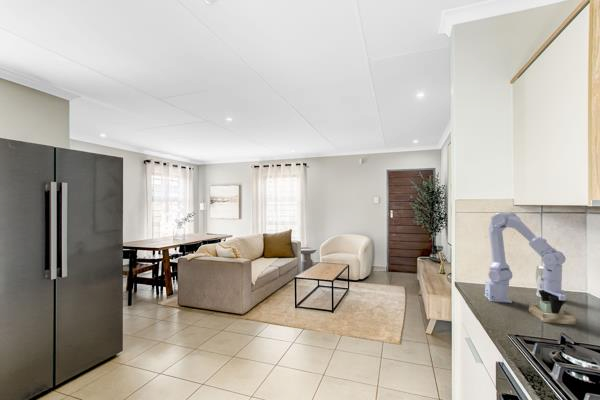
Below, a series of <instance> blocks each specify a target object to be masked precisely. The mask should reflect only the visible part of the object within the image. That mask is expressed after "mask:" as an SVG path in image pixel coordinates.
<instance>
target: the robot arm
mask: <svg viewBox="0 0 600 400" xmlns="http://www.w3.org/2000/svg"><path fill="white" fill-rule="evenodd" d="M490 219H491V220H490V224H489V226H488V232H489V233H488V234H489V241H490V250H491V260H492V263H491V265H490V266H489V270H488V278H489V280H487V281H485V285H484V286H485V287H484V296H485V297H486V298H487V299H488V300H489V301H490V302H497V303H508V304H509V303H511V304H512V303H513V301H512V300H511V299H509V298H510V297H509V292H510V280H511V279H512V278H513V272H512V270H511V269H510V265H509V264H508V263H507V260H506V259H507V258H506V253H505V246H504V244H505V243H504V236H503V231H504V230H505V229H507V228H510V229H515V230H516V231H517V232H518V233H519V234H520V235H521V236H523V238H525V239H526V240H527V241H528V245H529V247H530V248H532V250H534V251H535V252H536V253H537V255H539V256H540V257H541V261H542V263H543V264H544V265H543V266H545V267H544V284H540V288H541V289H543V290H539V293H540V295H541V297H540V298H541V301H550V303H551V310H552V313H557V314H559V311H560V309H561V307H562V306H563V305H564V304H565V303H566V302H567V296H566V295H565V294H564V293H565V290H563V289H562V283H563V281H562V280H563V278H562V277H563V264H564V263H565V262H566V256H565V254H564V253H563V252H562V251H558V250H557V249H556V248H555V247H552V246H551V245H550V244H549V243H548V242H547V239H546V238H543V237H539V236H536V235H535V234H534V233H533V231H532V230H530V228H529V227H527V225H526V224H525V223H524V222H523V221H522V220H521V218H520V217H519V215H517V214H516V213H514V212H512V211H507V212H496V213H494V214H493V215H492V216H491V218H490Z"/></svg>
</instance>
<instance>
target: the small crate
mask: <svg viewBox="0 0 600 400" xmlns="http://www.w3.org/2000/svg"><path fill="white" fill-rule="evenodd" d="M538 302H539V303H538V304H539V310H541V311H542V312H543V313H550V314H557V313H552V310H551V303H550V301H543V300H539V301H538ZM563 309H564V306H563V305H562V307H561V309H560V311H559V314H561V315H563Z"/></svg>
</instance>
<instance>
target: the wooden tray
mask: <svg viewBox="0 0 600 400" xmlns="http://www.w3.org/2000/svg"><path fill="white" fill-rule="evenodd" d="M528 311H529V312H530V313H531V314H532V315H534V317H536V318H537V319H538V320H539V321H541V322H543V323H551V324H552V323H553V324H564V325H573V326H575V325H576V322H577V316H576V315H574V314H572V313H571V312H569V311H568V310H566V309H565V308H563V315H561V314H550V313H543V312H542V311H541V310H539V303H528Z"/></svg>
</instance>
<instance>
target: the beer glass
mask: <svg viewBox="0 0 600 400" xmlns="http://www.w3.org/2000/svg"><path fill="white" fill-rule="evenodd" d="M544 267H545V265H537V266H536V270H535V281H536V287H537V290H536V293H535V295H536V296H537V297H539V298H542V297H541V295H540V293H539V290H543V289H541V288H540V284H544Z"/></svg>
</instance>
